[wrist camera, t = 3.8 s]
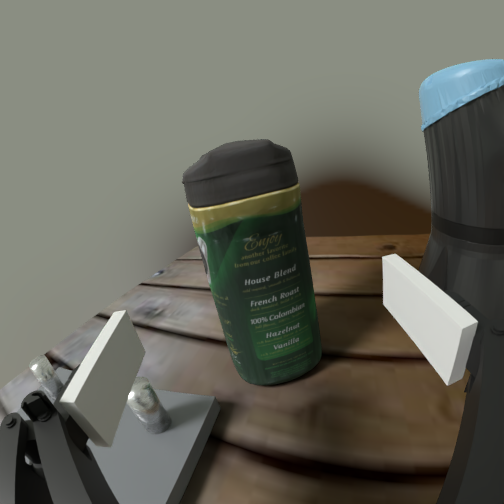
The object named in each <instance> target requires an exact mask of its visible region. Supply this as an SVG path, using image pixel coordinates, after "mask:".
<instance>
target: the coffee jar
mask: <svg viewBox="0 0 504 504" xmlns="http://www.w3.org/2000/svg"><path fill="white" fill-rule="evenodd" d="M182 183H183V184H184V187H185V192H186V198H187V202H188V206H189V210H190V214H191V218H192V222H193V226H194V230H195V234H196V238H197V241H198V245H199V249H200V253H201V256H202V260H203V263H204V267H205V271H206V274H207V278H208V281H209V285H210V288H211V291H212V295H213V298H214V301H215V305H216V308H217V312H218V315H219V318H220V321H221V325H222V328H223V332H224V335H225V339H226V342H227V345H228V348H229V351H230V354H231V357H232V360H233V363H234V365H235V368H236V370H237V371H238V373H239V375H240V376H241V377H242V379H244V380H245V381H246V382H248V383H250V384H255V385H271V384H279V383H283V382H287V381H290V380H292V379H295V378H297V377H300V376H302V375H303V374H305V373H306V372H308V371H310V370H311V369H313V368H314V367H315V366H316V365H317V363H318V362H319V361H320V359H321V355H322V349H321V339H320V331H319V323H318V316H317V309H316V303H315V296H314V289H313V282H312V275H311V268H310V261H309V255H308V249H307V242H306V236H305V230H304V224H303V216H302V206H301V194H300V185H299V183H298V177H297V173H296V169H295V165H294V162H293V159H292V155H291V152H290V150H288V149H287V148H285V147H283V146H280V145H277V144H274V143H273V142H271V141H270V140H266V139H261V140H245V141H235V142H231V143H226V144H223V145H221V146H219V147H217V148H215V149H213V150H211V151H209V152H208V153H206V154H204V155H202V157H201V158H200V160H198V161H197V162H196V163H195V164H193V165H192V166H191V167H189V168H188V169H187V170H186V171H185V172H184V173H183V181H182Z"/></svg>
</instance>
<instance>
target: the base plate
mask: <svg viewBox="0 0 504 504" xmlns="http://www.w3.org/2000/svg"><path fill="white" fill-rule="evenodd" d="M29 368H30V369H31V371H32V372H33V374H34V375H35V377H36V378H37V380H38V381H39V383H40V384H41V387H40V388H39V389H38V390H41V391H43V392H44V393H45V394H46V395H47V397H48V398H49V400H50V401H51V402H52V404H53V403H54V402H55V400H56V398H57V396H58V395H59V393H60V391H61V390H62V388H63V386H64V384H65V383H66V381H67V380H68V378H69V376H70V374H71V373H72V371H70V370H66V369H63V368H58V369H57V370H56V371H54V369H53V367H52V366H51V364H50V363H49V361H48V359H47V358H46V356H44V355H42V356H38V357H36V358H35V359H33V360H32V361H31V363H30V365H29ZM220 409H221V408H220V406H219V404H218V402H217V399H216V397H215V396H205V395H195V394H187V393H179V392H171V391H164V390H158V389H153V387H152V386H151V384H150V382H149V380H148V379H147V378H145V377H136V378H135V381H134V383H133V386H132V389H131V392H130V394H129V397H128V400H127V403H126V405H125V408H124V411H123V414H122V417H121V419H120V422H119V425H118V428H117V431H116V434H115V437H114V440H113V443H112V446H111V448H109V447H99V446H96V445H95V444H94V443H93V442H92V441H91V440H90V439H88V441H87V445H88V446H89V448H90V449H91V451H92V453H93V455H94V457H95V459H96V461H97V464H98V466H99V468H100V470H101V472H102V474H103V475H104V477H105V479H106V481H107V483H108V485H109V487H110V488H111V490H112V492H113V494H114V496H115V497H116V499H117V501H118V502H119V504H179V503H180V501H181V498H182V496H183V494H184V492H185V490H186V487H187V485H188V483H189V481H190V478H191V476H192V474H193V472H194V469H195V467H196V465H197V462H198V460H199V458H200V456H201V453H202V451H203V449H204V446H205V444H206V442H207V439H208V437H209V435H210V432H211V430H212V428H213V425H214V423H215V420H216V418H217V416H218V413H219V411H220ZM17 413H19V414H20V416H21V417H22V418H23V419H24V420H31V419H30V418H29V417H28V416H27V414H26V413H25V412H24V411H23V409H22V408H20V409H19V411H18V412H17ZM25 460H26V463H27V464H29V459H28V458H27V457H26V456H25Z"/></svg>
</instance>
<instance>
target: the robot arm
mask: <svg viewBox="0 0 504 504" xmlns="http://www.w3.org/2000/svg"><path fill="white" fill-rule="evenodd" d="M419 99H420V107H421V115H422V123H423V124H422V126H421V128H422V132H424V137H425V143H426V151H427V160H428V168H429V180H430V193H431V209H432V230H431V234H430V238H429V241H428V244H427V247H426V250H425V253H424V256H423V259H422V262H421V265H420V267H419V270H418V271H417V270H416V269H415V268H413V267H412V266H411V265H410V264H408V263H407V262H406V261H404V260H403V259H402V258H401V257H399V256H398V255H397V254H392V255H388V256H384V257H382V260H383V305H384V306H385V307H386V308H387V309H388V311H389V312H390V313H391V314H392V315H393V317H394V318H395V319H396V320H397V321H398V323H399V324H400V325H401V326H402V328H403V329H404V330H405V331H406V333H407V334H408V335H409V336H410V338H411V339H412V340H413V341H414V343H415V344H416V345H417V346H418V348H419V349H420V350H421V352H422V353H423V354H424V355H425V357H426V358H427V359H428V361H429V362H430V363H431V365H432V366H433V367H434V369H435V370H436V371H437V373H438V374H439V375H440V377H441V378H442V379H443V381H444V382H445V383H446V385H447V386H448V385H450V384H452V383H454V382H456V381H458V380H460V379H462V378H463V375H464V372H465V368H467V369H468V370H469V371H470V373H471V374H470V377H469V380H468V383H467V385H466V388H465V391H464V392H467V394H466V400H465V406H464V411H463V416H462V421H461V426H460V430H459V434H458V438H457V442H456V446H455V450H454V453H453V457H452V460H451V464H450V467H449V470H448V473H447V476H446V479H445V482H444V485H443V488H442V490H441V493H440V496H439V498H438V501H437V503H436V504H503V502H504V60H502V59H488V60H479V61H472V62H466V63H462V64H458V65H454V66H451V67H448V68H445V69H442V70H440V71H438V72H435V73H434V74H432V75H430V76H429V77H427V78H426V79H425V80H424V81H423V83H422V85H421V86H420V89H419ZM144 355H145V350H144V348H143V346H142V343H141V341H140V339H139V337H138V335H137V333H136V331H135V328H134V326H133V324H132V322H131V319H130V317H129V315H128V313H127V310H124V311H118V312H114V313H113V315H112V316H111V318H110V319H109V321H108V322H107V324H106V325H105V327H104V328H103V330H102V331H101V333H100V335H99V336H98V338H97V339H96V341H95V342H94V344H93V346H92V347H91V349H90V350H89V352H88V354H87V355H86V357H85V358H84V360H83V362H82V363H81V364H80V365H78V366H77V367H76V368H75V369H74V370H73V371H72V373H71V374H70V376H69V378H68V380H67V381H66V383H65V384H64V386H63V388H62V390H61V391H60V393H59V395H58V396H57V398H56V400H55V402H54V403H53V404H52V402H51V401H50V400H49V398H48V397H47V395H46V394H45V393H44V392H43V391H41V390H37V391H34V392H31V393H30V394H28V395H27V396H26V397H25V398H24V400H23V401H22V403H21V408H22V409H23V411H24V412H25V413H26V414H27V416H28V417H29V418H30V419H31V420H24V419H23V418H22V417H21V416H20V414H19V413H11V414H8V415H7V416H6V417H5V418H4V419H3V421H2V423H1V426H0V504H119V502H118V501H117V499H116V497H115V496H114V494H113V492H112V490H111V488H110V487H109V485H108V483H107V481H106V479H105V477H104V475H103V474H102V472H101V470H100V468H99V466H98V464H97V461H96V459H95V457H94V455H93V453H92V451H91V449H90V448H89V446H88V445H87V441H88V439H90V440H91V441H92V442H93V443H94V444H95V445H96V446H99V447H109V448H111V446H112V443H113V440H114V437H115V434H116V431H117V428H118V425H119V422H120V419H121V417H122V414H123V411H124V408H125V405H126V403H127V400H128V397H129V394H130V392H131V389H132V386H133V383H134V381H135V378H136V376H137V373H138V370H139V368H140V365H141V363H142V360H143V357H144ZM25 456H26V457H27V458H28V459H29V464H27V463H26V460H25Z"/></svg>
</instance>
